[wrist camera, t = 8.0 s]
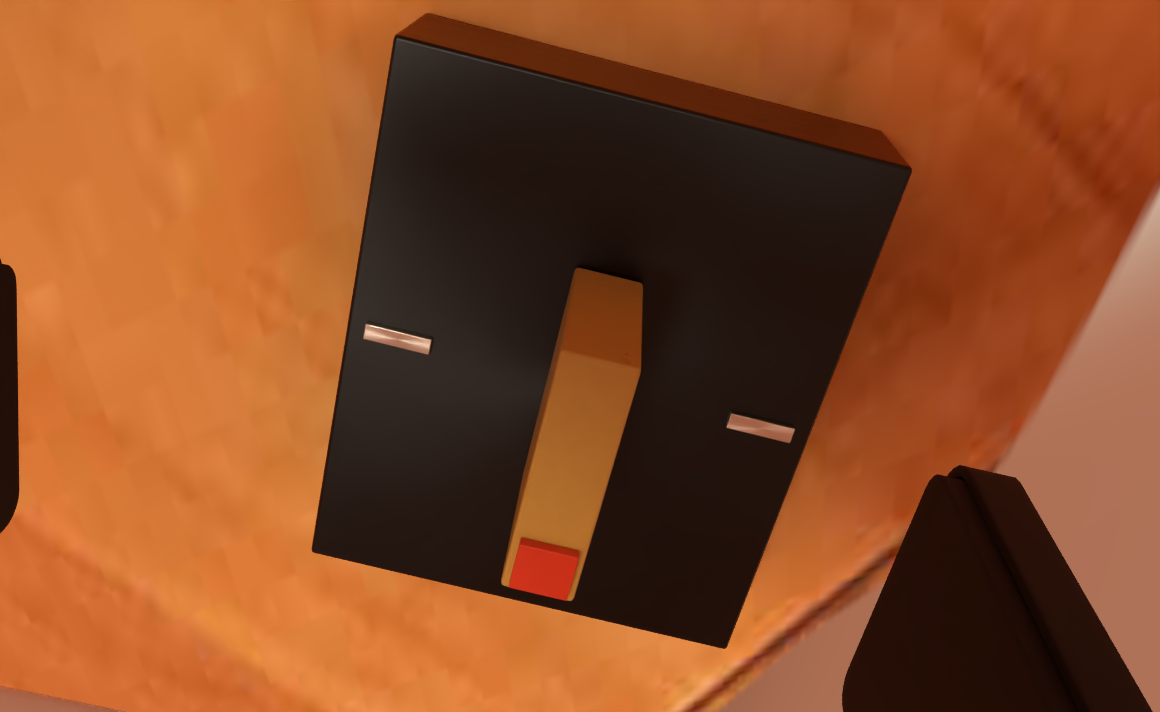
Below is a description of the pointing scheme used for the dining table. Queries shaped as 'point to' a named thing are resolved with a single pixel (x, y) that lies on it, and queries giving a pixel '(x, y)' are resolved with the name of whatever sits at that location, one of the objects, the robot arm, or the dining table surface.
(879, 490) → the dining table surface
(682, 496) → the plate
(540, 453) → the thumbturn
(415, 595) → the dining table surface
